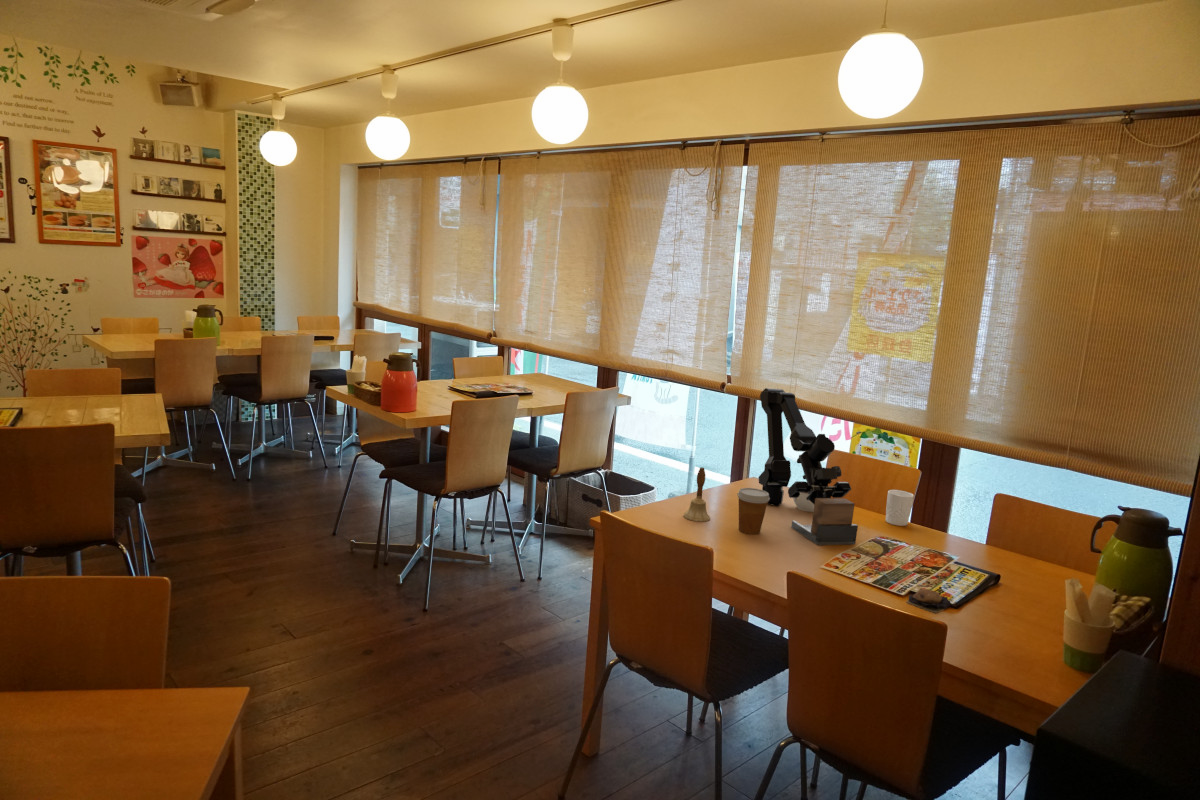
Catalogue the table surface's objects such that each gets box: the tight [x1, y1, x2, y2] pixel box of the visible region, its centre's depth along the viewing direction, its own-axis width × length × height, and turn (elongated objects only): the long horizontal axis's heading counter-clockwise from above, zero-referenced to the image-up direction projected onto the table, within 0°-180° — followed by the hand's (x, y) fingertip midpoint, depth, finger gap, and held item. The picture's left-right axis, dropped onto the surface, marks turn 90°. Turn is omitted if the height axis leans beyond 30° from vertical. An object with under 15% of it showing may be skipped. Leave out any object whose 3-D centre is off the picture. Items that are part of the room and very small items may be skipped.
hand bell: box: [682, 467, 711, 523], centre depth 235 cm, size 8×8×16 cm
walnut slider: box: [811, 497, 856, 534], centre depth 225 cm, size 5×10×11 cm, turn 106°
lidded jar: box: [792, 492, 814, 513], centre depth 255 cm, size 11×11×9 cm
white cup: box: [885, 489, 915, 527], centre depth 249 cm, size 8×8×10 cm
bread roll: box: [906, 588, 951, 615], centre depth 185 cm, size 11×8×4 cm
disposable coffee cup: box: [737, 487, 770, 535], centre depth 227 cm, size 10×10×12 cm
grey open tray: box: [790, 520, 859, 546], centre depth 229 cm, size 15×13×6 cm
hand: (827, 515), depth 227 cm, fingers closed, pressing on walnut slider
